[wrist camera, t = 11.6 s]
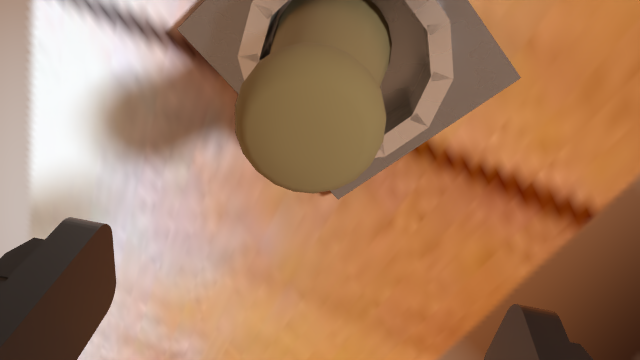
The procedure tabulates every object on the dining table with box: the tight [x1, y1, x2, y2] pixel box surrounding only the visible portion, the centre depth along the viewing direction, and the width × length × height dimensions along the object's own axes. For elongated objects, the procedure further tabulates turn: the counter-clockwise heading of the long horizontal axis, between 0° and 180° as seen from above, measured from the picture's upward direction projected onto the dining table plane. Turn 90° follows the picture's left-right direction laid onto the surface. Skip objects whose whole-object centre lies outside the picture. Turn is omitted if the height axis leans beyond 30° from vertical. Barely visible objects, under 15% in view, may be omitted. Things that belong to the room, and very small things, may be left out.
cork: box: [235, 0, 392, 193], centre depth 20 cm, size 6×6×11 cm
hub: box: [177, 0, 521, 199], centre depth 24 cm, size 13×12×3 cm
